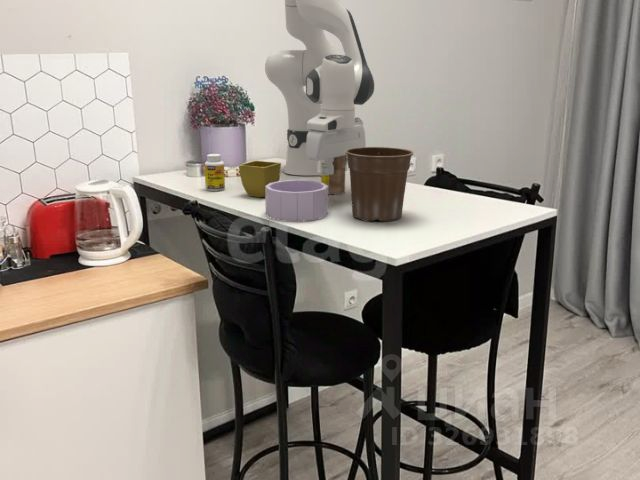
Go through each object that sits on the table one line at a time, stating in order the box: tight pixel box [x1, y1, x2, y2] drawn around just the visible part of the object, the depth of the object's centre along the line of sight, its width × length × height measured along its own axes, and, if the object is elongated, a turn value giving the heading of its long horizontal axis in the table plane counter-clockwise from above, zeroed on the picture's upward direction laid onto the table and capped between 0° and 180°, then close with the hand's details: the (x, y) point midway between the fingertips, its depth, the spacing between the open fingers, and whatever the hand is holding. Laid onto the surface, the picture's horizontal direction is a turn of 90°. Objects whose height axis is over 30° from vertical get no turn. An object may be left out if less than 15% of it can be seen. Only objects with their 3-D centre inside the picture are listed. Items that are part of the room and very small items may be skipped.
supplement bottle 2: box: [320, 160, 333, 195], centre depth 183 cm, size 7×7×13 cm
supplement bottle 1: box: [204, 153, 226, 192], centre depth 186 cm, size 6×6×10 cm
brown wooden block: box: [329, 155, 346, 195], centre depth 171 cm, size 3×3×14 cm
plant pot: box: [345, 146, 414, 222], centre depth 157 cm, size 16×16×16 cm
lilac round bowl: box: [264, 179, 329, 222], centre depth 160 cm, size 15×15×7 cm
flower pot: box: [238, 160, 282, 198], centre depth 180 cm, size 9×9×9 cm
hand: (337, 172), depth 171 cm, fingers closed on brown wooden block, 3 cm apart
